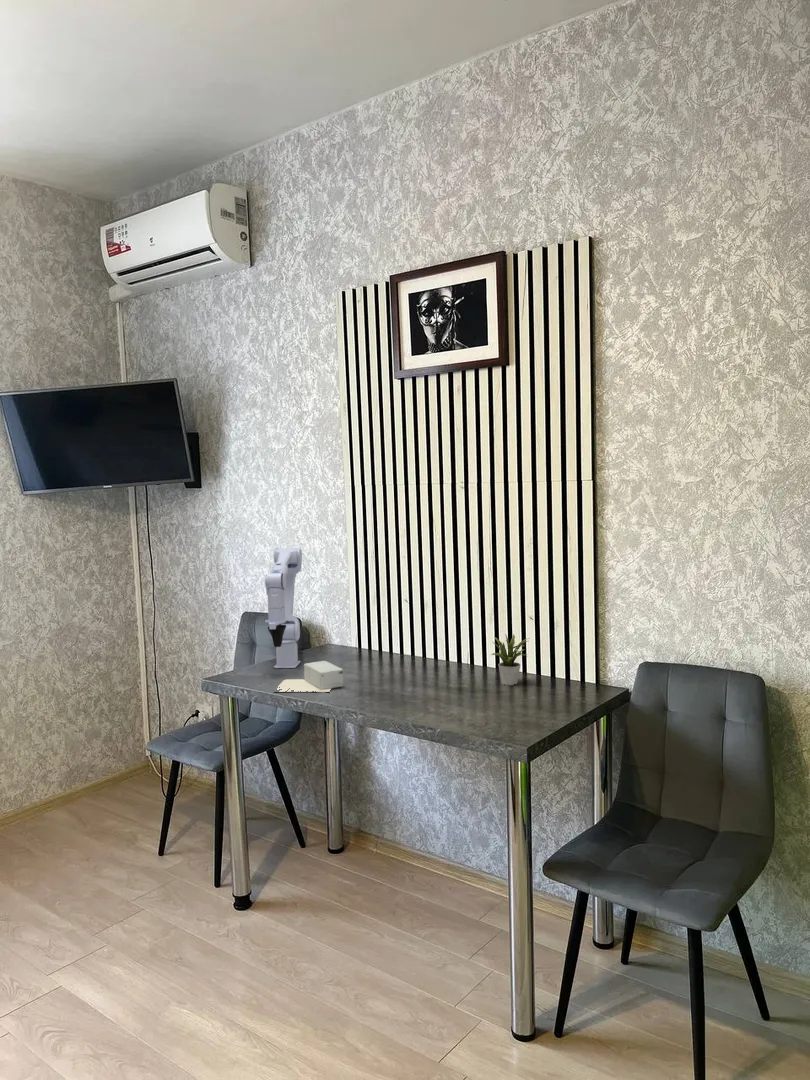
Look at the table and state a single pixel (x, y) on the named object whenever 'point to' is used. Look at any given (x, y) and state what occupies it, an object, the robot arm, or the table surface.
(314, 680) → the skincare box
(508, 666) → the house plant
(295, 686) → the mat
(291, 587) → the robot arm
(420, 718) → the table surface
